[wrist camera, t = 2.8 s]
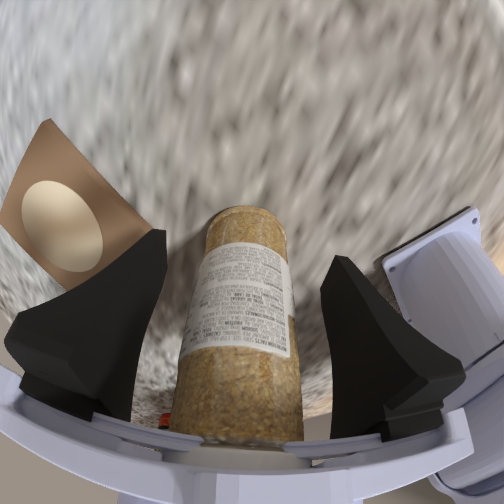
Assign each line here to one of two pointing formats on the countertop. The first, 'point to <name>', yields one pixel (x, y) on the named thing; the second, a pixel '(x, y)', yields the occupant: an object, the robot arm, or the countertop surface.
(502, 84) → the countertop surface
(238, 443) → the spice jar
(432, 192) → the countertop surface
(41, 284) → the countertop surface
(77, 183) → the spice coaster
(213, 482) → the robot arm
